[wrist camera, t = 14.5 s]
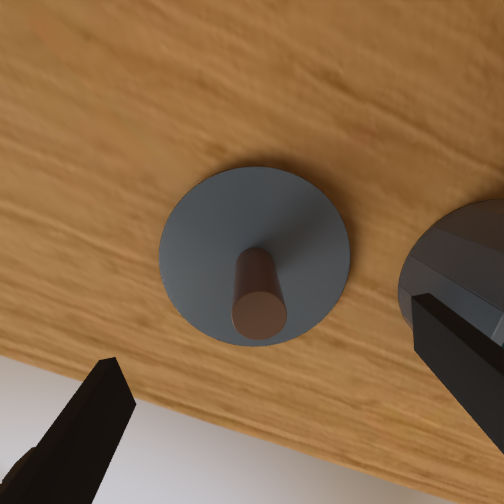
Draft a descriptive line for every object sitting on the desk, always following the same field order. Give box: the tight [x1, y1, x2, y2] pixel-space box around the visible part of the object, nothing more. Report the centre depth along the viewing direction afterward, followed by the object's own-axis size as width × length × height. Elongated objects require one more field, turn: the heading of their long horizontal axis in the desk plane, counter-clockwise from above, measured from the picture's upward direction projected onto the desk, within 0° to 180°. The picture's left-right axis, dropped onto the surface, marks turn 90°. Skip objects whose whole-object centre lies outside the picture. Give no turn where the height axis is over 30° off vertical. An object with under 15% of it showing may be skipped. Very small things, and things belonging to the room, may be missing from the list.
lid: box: [159, 166, 350, 347], centre depth 20 cm, size 15×15×9 cm
